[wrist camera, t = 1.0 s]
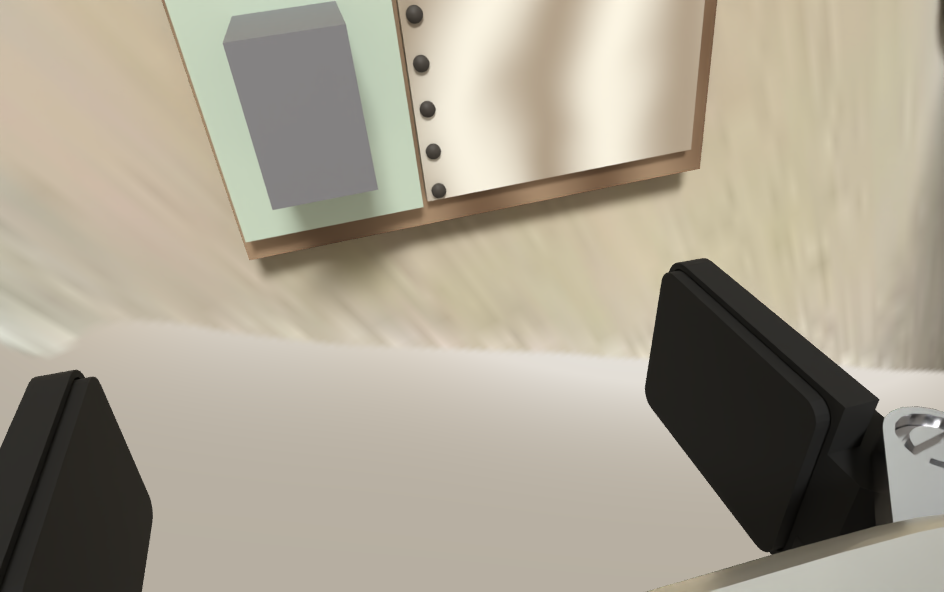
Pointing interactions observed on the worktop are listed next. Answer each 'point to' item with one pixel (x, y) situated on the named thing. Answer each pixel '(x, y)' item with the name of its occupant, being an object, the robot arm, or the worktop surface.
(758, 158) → the worktop surface
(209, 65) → the stub
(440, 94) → the ticket board
